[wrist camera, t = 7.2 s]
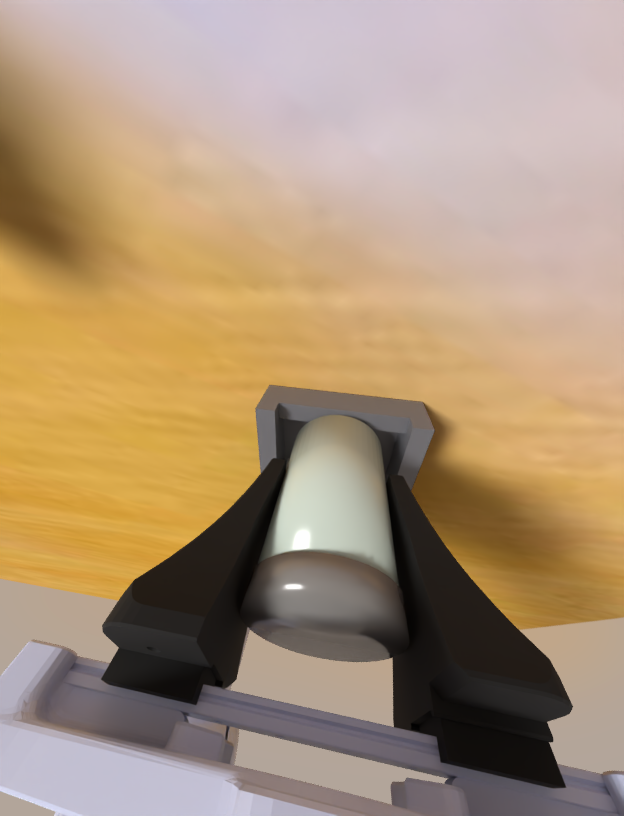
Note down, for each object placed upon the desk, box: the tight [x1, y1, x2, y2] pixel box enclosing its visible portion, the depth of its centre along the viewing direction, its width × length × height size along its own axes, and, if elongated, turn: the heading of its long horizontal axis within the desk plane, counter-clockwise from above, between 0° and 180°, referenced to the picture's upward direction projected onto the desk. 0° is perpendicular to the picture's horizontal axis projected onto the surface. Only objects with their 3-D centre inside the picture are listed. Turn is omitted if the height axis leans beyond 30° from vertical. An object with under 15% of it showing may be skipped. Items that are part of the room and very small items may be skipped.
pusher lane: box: [255, 385, 435, 490], centre depth 18 cm, size 17×9×3 cm, turn 177°
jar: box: [240, 415, 409, 662], centre depth 11 cm, size 5×5×8 cm
